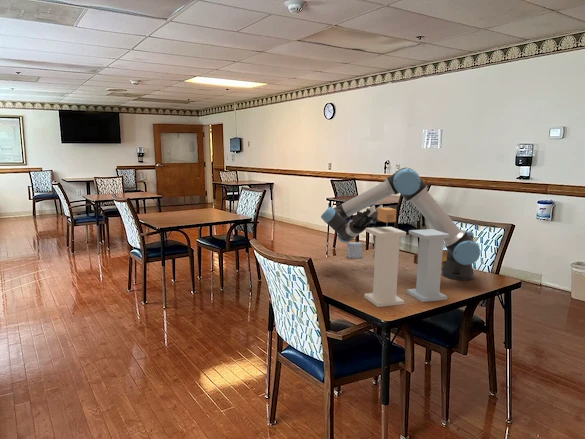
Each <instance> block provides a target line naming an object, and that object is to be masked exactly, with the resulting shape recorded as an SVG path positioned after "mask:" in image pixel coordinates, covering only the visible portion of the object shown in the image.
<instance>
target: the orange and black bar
mask: <svg viewBox="0 0 585 439" xmlns="http://www.w3.org/2000/svg"><path fill="white" fill-rule="evenodd" d="M369 208H370V207H367V208H366V210H368V209H369ZM377 208H378V207H377ZM377 208H375V209H376V211H375V212H374V213H373V214H372V215H370V217H373V218H376V219H377V221H380V222H383V223H396V222H397V209H396V208H391V207H389V206H388V207H383V208H378V210H377Z"/></svg>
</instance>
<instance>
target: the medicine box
mask: <svg viewBox="0 0 585 439" xmlns="http://www.w3.org/2000/svg"><path fill="white" fill-rule="evenodd" d="M363 250H364V244H363V242H360V241H356V242H355V241H354V242H353V241H352V242H351V241H350V242H347V250H346V253H347V254H346V258H348V259H349V258H352V259H362V258H363Z"/></svg>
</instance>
